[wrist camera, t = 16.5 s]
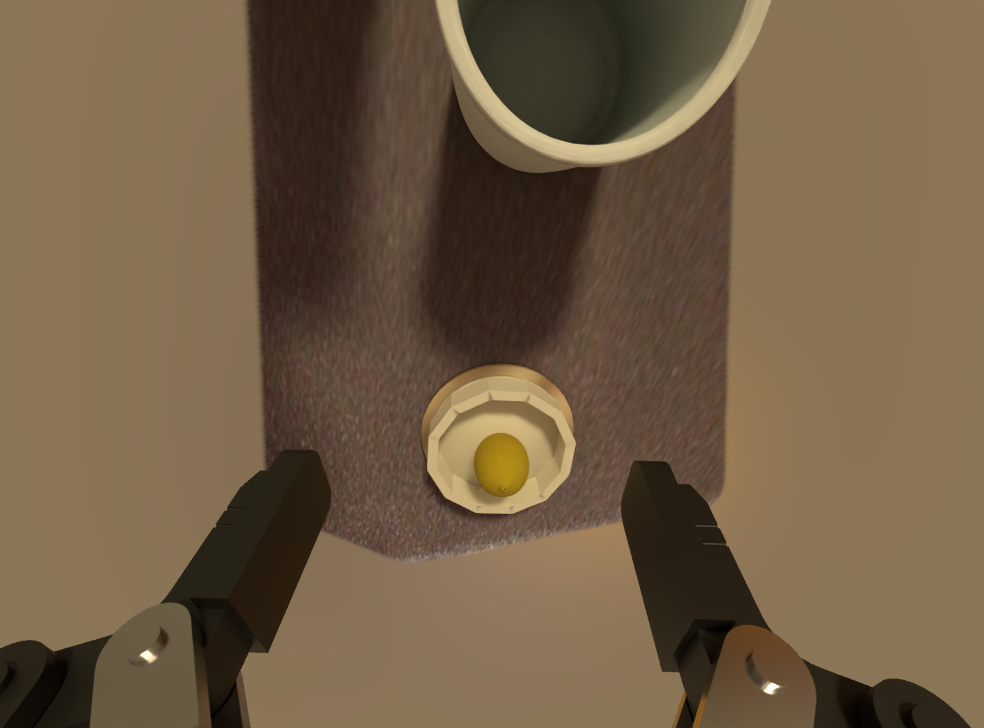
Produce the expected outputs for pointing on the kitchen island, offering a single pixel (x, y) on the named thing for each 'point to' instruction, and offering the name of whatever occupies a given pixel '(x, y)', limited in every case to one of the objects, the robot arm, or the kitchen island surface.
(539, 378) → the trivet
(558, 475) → the bowl
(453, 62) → the utensil holder
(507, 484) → the lemon
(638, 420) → the kitchen island surface
